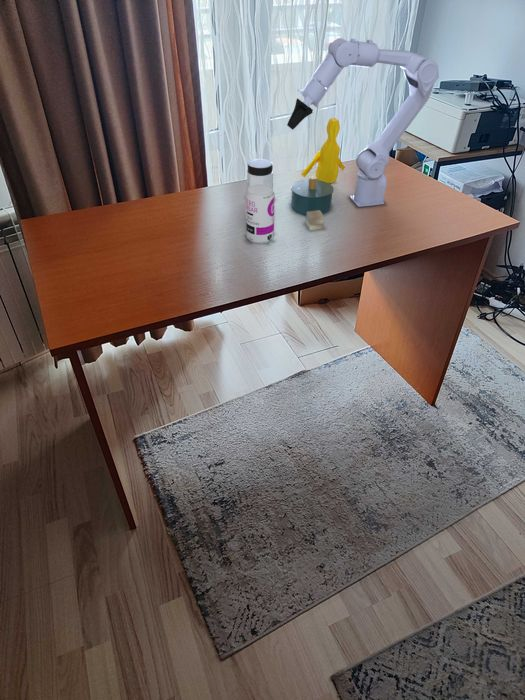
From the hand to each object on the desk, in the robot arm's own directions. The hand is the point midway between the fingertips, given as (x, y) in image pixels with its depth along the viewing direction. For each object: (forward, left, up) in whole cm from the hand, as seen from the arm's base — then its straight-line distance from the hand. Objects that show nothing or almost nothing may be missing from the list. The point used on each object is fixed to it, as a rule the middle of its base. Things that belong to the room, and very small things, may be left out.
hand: (290, 126), depth 138 cm
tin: (-8, 0, -26) cm, 27 cm away
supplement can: (+13, +16, -26) cm, 33 cm away
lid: (-8, 0, -20) cm, 22 cm away
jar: (+7, -10, -26) cm, 29 cm away
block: (-5, +13, -26) cm, 29 cm away
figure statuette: (-19, -18, -26) cm, 37 cm away
